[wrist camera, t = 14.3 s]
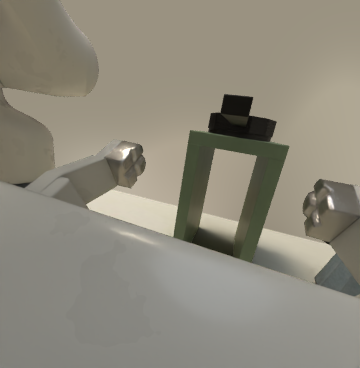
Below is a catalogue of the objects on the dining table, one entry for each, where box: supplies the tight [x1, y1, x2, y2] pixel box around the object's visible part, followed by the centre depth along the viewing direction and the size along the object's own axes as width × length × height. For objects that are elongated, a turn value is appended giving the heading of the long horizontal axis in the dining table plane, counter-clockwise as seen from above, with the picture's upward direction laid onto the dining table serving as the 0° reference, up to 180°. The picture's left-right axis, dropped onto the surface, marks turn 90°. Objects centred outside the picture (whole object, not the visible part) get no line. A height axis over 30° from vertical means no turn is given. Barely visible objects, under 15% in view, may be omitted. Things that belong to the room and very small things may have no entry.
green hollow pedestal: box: [173, 130, 289, 263], centre depth 38 cm, size 18×14×26 cm
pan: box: [208, 94, 276, 142], centre depth 24 cm, size 26×10×3 cm, turn 161°
